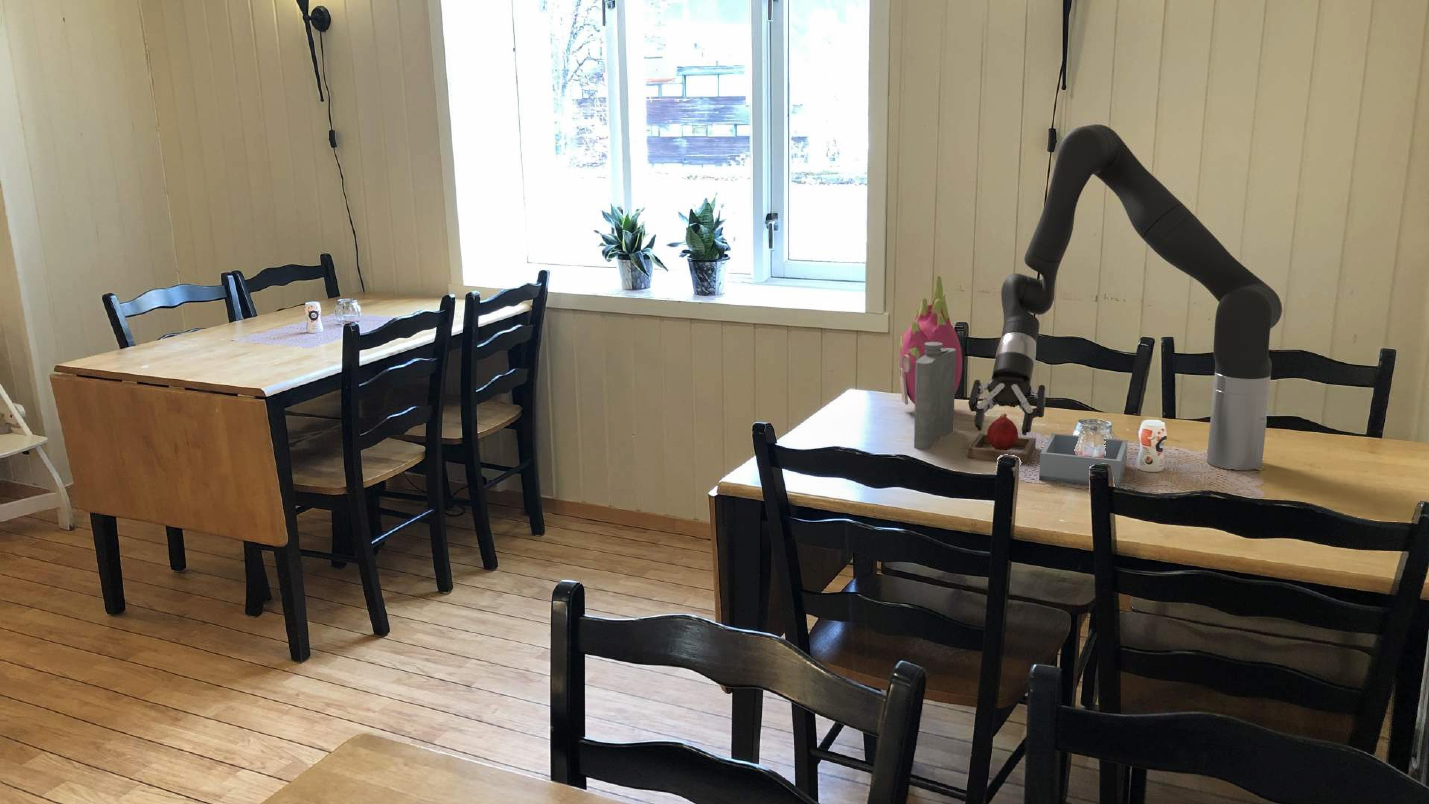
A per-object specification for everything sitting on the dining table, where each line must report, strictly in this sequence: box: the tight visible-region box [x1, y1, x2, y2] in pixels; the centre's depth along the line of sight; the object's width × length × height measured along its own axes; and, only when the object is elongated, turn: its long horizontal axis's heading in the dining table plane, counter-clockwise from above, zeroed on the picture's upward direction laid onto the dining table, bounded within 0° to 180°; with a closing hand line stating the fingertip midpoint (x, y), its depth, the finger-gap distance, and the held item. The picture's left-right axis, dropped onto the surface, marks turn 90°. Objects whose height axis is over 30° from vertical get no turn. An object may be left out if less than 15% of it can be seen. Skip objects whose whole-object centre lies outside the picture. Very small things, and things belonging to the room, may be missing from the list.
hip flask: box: [913, 342, 956, 450], centre depth 222 cm, size 16×4×20 cm, turn 147°
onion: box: [986, 412, 1019, 451], centre depth 213 cm, size 6×6×8 cm
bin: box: [1038, 432, 1129, 488], centre depth 201 cm, size 14×14×5 cm
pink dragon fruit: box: [898, 275, 963, 406], centre depth 242 cm, size 18×14×30 cm
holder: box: [967, 432, 1037, 465], centre depth 214 cm, size 11×11×2 cm
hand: (1001, 431), depth 212 cm, fingers open, 8 cm apart
